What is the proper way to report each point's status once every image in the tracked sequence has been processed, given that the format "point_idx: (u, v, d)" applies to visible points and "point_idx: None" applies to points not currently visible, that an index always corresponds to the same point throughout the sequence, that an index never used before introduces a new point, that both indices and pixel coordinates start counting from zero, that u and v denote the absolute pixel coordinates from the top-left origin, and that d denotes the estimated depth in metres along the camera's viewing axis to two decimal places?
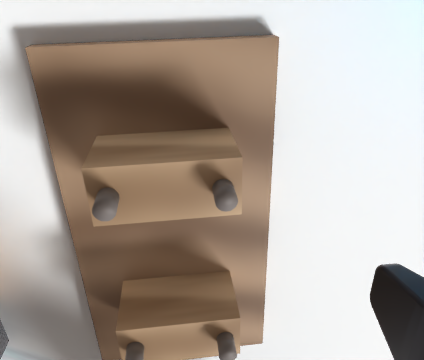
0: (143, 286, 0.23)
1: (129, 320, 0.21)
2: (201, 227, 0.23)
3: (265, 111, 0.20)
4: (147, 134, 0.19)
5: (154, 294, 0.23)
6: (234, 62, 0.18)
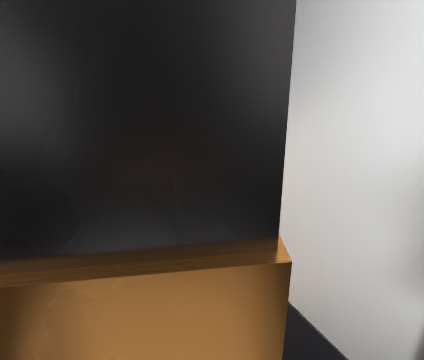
0: None
1: None
2: None
3: None
4: None
5: None
6: None
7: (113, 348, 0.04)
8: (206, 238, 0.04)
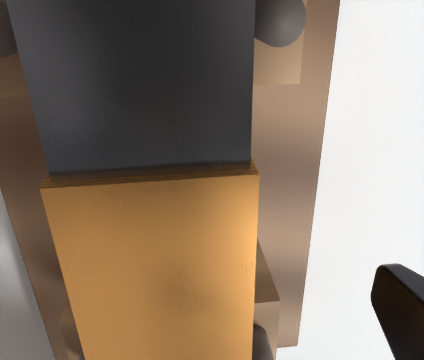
0: None
1: None
2: None
3: None
4: None
5: None
6: None
7: (135, 239, 0.06)
8: (200, 157, 0.06)
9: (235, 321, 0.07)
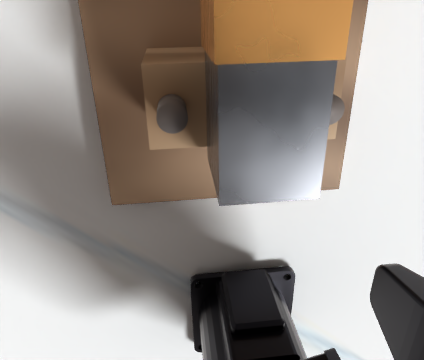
0: (179, 49, 0.15)
1: (162, 60, 0.13)
2: None
3: None
4: None
5: (197, 51, 0.14)
6: None
7: None
8: None
9: None
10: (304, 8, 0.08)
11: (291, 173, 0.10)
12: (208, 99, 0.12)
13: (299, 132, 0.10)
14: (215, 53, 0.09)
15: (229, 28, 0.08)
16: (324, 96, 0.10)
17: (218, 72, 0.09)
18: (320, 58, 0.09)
